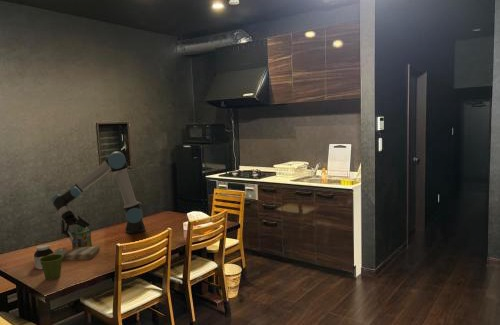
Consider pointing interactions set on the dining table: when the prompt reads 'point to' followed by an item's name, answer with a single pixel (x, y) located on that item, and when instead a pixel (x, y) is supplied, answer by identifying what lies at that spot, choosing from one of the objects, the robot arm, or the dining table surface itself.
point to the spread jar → (41, 254)
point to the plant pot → (51, 265)
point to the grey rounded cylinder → (61, 252)
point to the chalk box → (81, 238)
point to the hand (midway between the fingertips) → (81, 237)
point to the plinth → (82, 253)
